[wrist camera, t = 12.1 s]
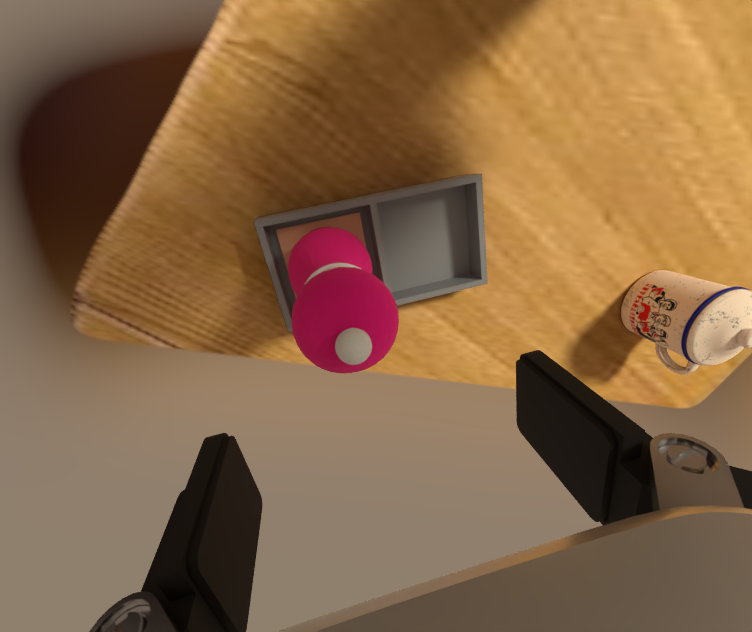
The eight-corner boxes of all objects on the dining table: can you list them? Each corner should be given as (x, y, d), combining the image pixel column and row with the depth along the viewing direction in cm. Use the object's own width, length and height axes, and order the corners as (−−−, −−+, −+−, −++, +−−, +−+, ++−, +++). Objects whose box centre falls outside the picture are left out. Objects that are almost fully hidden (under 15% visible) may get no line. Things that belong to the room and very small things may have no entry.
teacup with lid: (623, 274, 43) (729, 306, 32) (686, 261, 44) (808, 289, 33) (609, 358, 47) (698, 410, 37) (667, 345, 49) (768, 392, 38)
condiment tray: (257, 217, 32) (253, 221, 30) (467, 174, 35) (481, 173, 32) (289, 320, 37) (288, 332, 34) (473, 275, 39) (487, 283, 36)
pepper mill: (294, 297, 35) (285, 430, 17) (284, 223, 32) (261, 286, 14) (365, 290, 36) (429, 408, 18) (362, 219, 33) (433, 271, 15)
